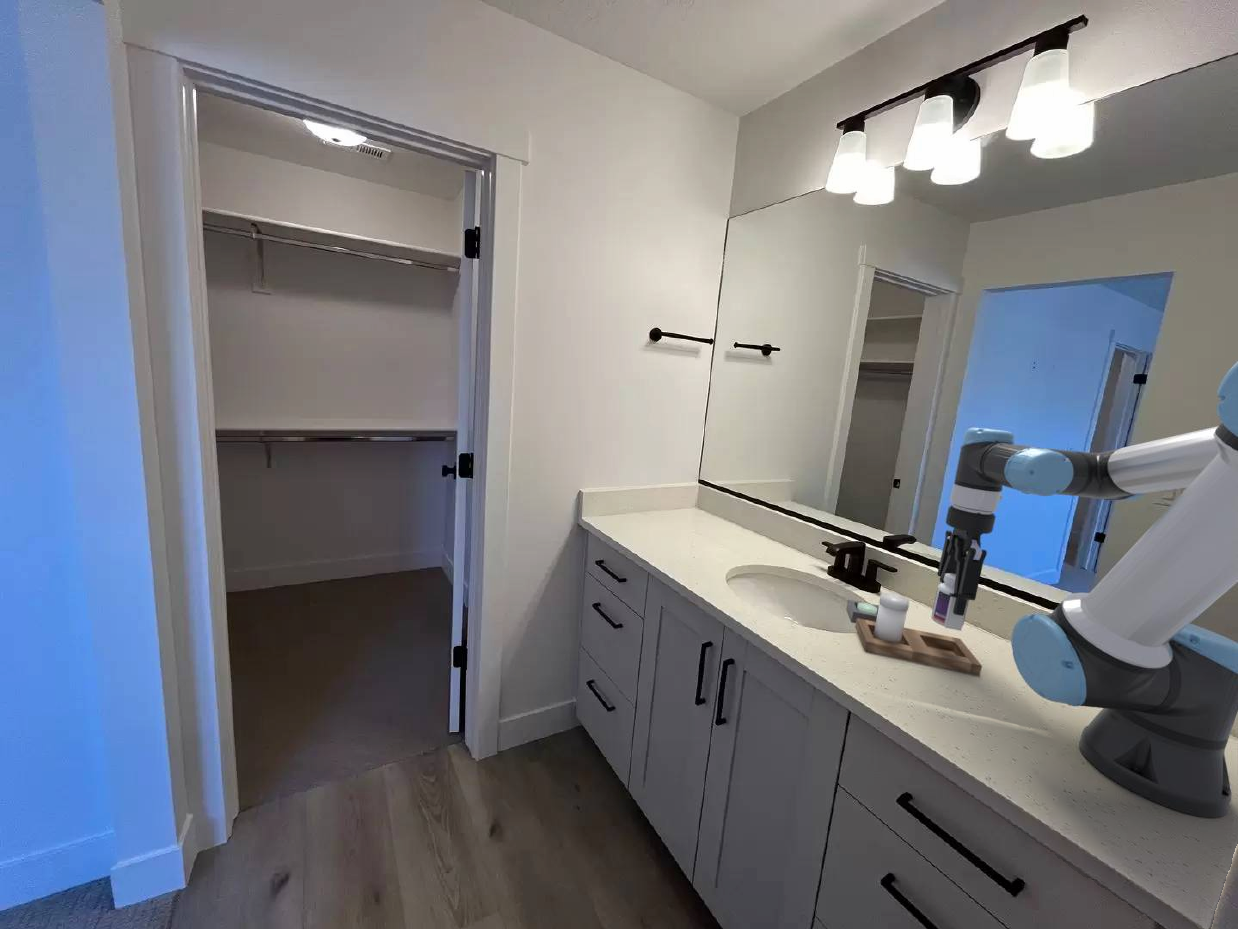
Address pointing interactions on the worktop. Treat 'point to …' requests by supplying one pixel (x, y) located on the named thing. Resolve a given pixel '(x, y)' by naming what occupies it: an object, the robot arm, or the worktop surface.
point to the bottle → (891, 617)
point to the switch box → (859, 612)
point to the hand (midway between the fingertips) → (947, 621)
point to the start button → (867, 608)
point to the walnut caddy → (921, 648)
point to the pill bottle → (944, 599)
